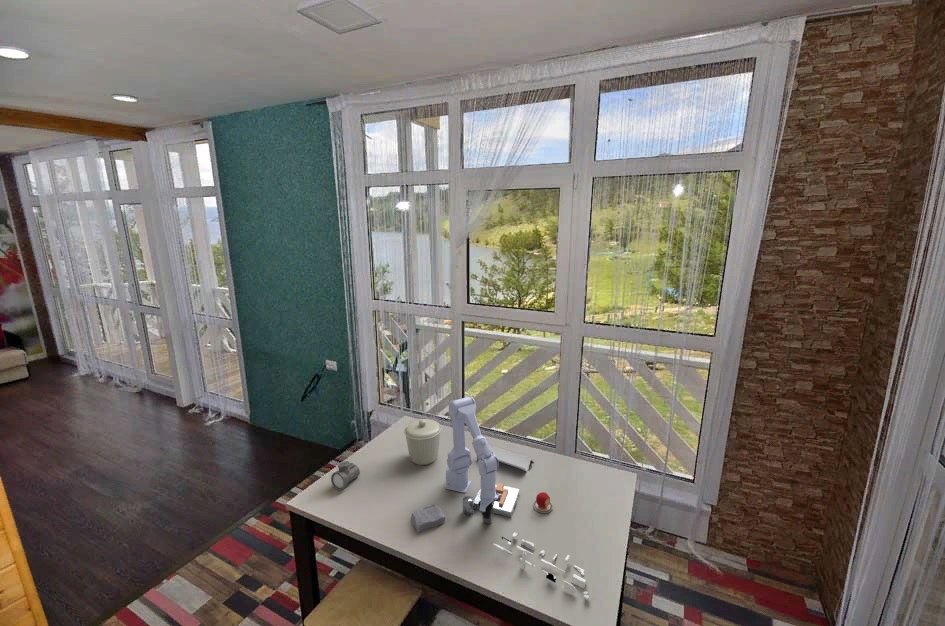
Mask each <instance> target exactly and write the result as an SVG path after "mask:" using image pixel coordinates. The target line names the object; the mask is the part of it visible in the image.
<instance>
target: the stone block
mask: <svg viewBox="0 0 945 626" xmlns="http://www.w3.org/2000/svg"><path fill="white" fill-rule="evenodd" d="M445 522H446V516H445V514H444V513H443V512H442V510H441V508H440V507H439V505H436V504H430V505H427V506H424V507H422V508H419V509H417V510H414V511H412V512H411V524H412V525H413V527H415V530H416V531H417V533H422V532H424V531H427V530H429V529H432V528H435V527H436V526H437V527H438V526H440V525H442V524H444V523H445Z"/></svg>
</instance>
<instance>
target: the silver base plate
mask: <svg viewBox="0 0 945 626" xmlns="http://www.w3.org/2000/svg"><path fill="white" fill-rule="evenodd" d="M497 485H498V483H496V487H497ZM503 489H508V494H507V496H506V499H505V501H504V504H503V506H500V505H499V501H500V499H501V497H502V494H503V493H500V492H496V493H497V495H498V499H497V500H498V501H496V500H495V502H494V506H493V514H496V515H500V516H504V517H509V518H512V517H513V516H512V515H513V513H514V509H515V507H516V504H517V501H518V498H519V496H520V489H519V488H515V487H511V486H506V485H504V487H503ZM480 493H481V487H480V489H479V490H478V492H477V493H476V495H475V498H474V509H475V510H476V509H477V510H480V507H479V506H478V503H479V501H480Z"/></svg>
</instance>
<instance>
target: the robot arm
mask: <svg viewBox="0 0 945 626" xmlns="http://www.w3.org/2000/svg"><path fill="white" fill-rule="evenodd" d="M476 412H477V403H476V400H475V399H474V397H473V396H471V395H469V396H467V397H466V396H465V397H463V398H459V399H455V400H450V401H449V402H448V414H449V417H451V418H452V420H451V421H452V437H453V438H452V441H453V442H452V443H453V447H452V449H450V451H449V452H448V453H447V459H446V464H447V468H446V470H445V489H446V490H451V491H455V492H459V493H464V494H466V492H468V491H467V490H468V489H469V487H470V485H471V484H472V480H469V469H470V467H471V465H472V464H473V459H472V453H471V451H470V449H469V448H468V447H466V434H465V431H466V430H465V425H466V427H467V429H468V431H469V433H470V435H471V438H472V443H471V444H472V447H473V449H474V452H475V455H476V457H477V460H478V461H477V467H478V473H479V477H480V488H481V493H480V501H479V503H478V506H479V507H480V509H479V511H480V512H481V513H482V518H483V517H484V518H486V519H489V517H490V512H491V509H492V507H493V506H494V502H495V501H496V500H499V499H498V495H497V493H496V490H495V488H496V484H497V483H496V482H497V481H496V473H497V472H496V471H497V470H498V469H499V467H500V462H498V459H497V457H496V455H495V454H494V453H493V451H492V452H491V450H490V447H489V445H490V444H489V442H488V441H487V438H486V437H485V436H483V435H482V433H481V432H482V431H481V429H480V426H479V422H478V419H477V416H476ZM488 444H489V445H488ZM492 501H493V505H492V504H490V503H491V502H492Z"/></svg>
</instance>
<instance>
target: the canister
mask: <svg viewBox="0 0 945 626" xmlns="http://www.w3.org/2000/svg"><path fill="white" fill-rule="evenodd" d="M441 432H442V425H441V424H440V423H439V422H438V421H436V420H434V419H429V418H422V419H421V418H420V419H416V420H413V421H411V422H409V423H408V424H406V426H404V428H403V434H404V435H405V439H406V444H407V449H408V455H409V458H410V460H411V462H413V463H414V464H415V465H418V466H425V465H429V464H431V463H434V462H435V461H436V460H437V458H438V454H439V449H440V440H441V439H440V438H441V437H440V436H441Z"/></svg>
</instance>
